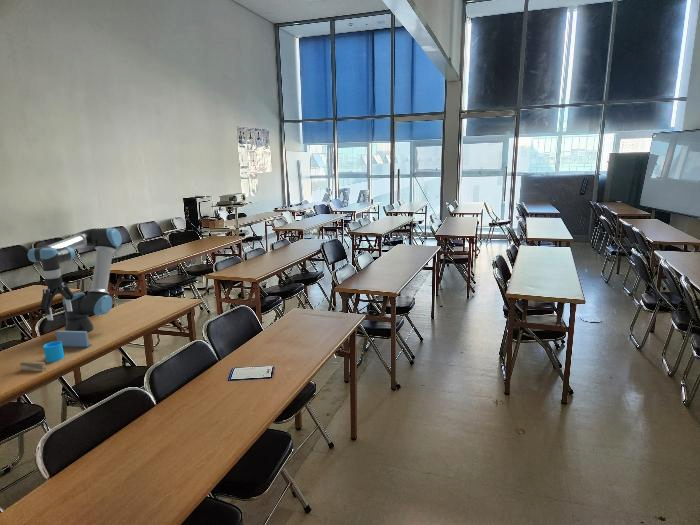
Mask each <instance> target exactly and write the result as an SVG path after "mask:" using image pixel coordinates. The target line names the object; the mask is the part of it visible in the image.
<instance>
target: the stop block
mask: <svg viewBox="0 0 700 525" xmlns="http://www.w3.org/2000/svg"><path fill="white" fill-rule="evenodd" d="M19 365H20V370H21V371H30V372H44V371H45V370H47V366H46V361H34V360H33V361H30V360H29V361H27V360H25V361H21V362H19Z"/></svg>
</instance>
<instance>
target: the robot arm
mask: <svg viewBox="0 0 700 525" xmlns="http://www.w3.org/2000/svg"><path fill="white" fill-rule="evenodd" d="M122 240H123V239H122V235H121V232H120V231H119V230H118V229H117V228H110V227H106V228H105V227H103V228H101V227H100V228H98V227H97V228H96V227H95V228H89V229H86V230H82V231H79V232H76V233H75V234H73V235H71V236H70V237H67V238H65V239H62V240H58V241H56V242H54V243H51V244H47V245H45V246H42V247H39V248H37V247H35V248H30V249H29V250H28V252H27V258H28V260H29V262H32V263H41V266H42V271H43V275H44V276H43V277H44V282H45V286H46V287H47V289H46V288H45V289H42V299H41V303H40V309H43V310H44V312H45V315H46V319H47V321H54V317H53V312H52V311H53V310H52V308H51V305H52V303H53V300H54V298H55V296H57V295H59V294H60V296H62V297H63V298H62V305H63V310H64V315H65V327H64V331H87V333H89V332H91V331H93V330H94V328H95V327H94V324H93V322H92V321H91V319H90V317H89V316H103V315H106V314H108V313H109V312H110V311H111V309H112V307H113V303H114V302H113V298H112V296H110V292H109V291H108V286H109V280H110V274H111V268H112V262H113V256H114V253H116V252H117V248H118V247H121V246H122V242H123V241H122ZM85 248H94V250H96V257H95V263H94V268H93V275H92V279H91V280H92V282H91V287H90V289H89V290H88V291H87V294H86V293H85V292H82V291H81V292H79V291H78V292H75V293H73V292H72V291H71V289H70V288H69V286H68V283H67V282H64V281H63V277H62V271H61V267H60V264H62V263H65V262H69V261H71V260H73V259H75V257H76V251H75V250H78V249H85Z"/></svg>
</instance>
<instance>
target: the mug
mask: <svg viewBox="0 0 700 525" xmlns="http://www.w3.org/2000/svg"><path fill="white" fill-rule="evenodd" d="M43 351H44V357H45V362H46V363H55V362H59V361H62V360H63V359H64V358H65V353H64V347H63V346H62V342H61V341H57V340H56V341H55V340H54V341H50V342H48V343H45V344H44V345H43Z"/></svg>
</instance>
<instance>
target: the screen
mask: <svg viewBox="0 0 700 525" xmlns="http://www.w3.org/2000/svg"><path fill="white" fill-rule="evenodd" d="M55 336H56V341H61V342H62V346H63V348H81V349H83V348H85V349H87V348H89V347H91V346H93V343H90V340H89V337H88V336H89V335H88V332H87V331H65V330H56V331H55Z"/></svg>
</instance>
